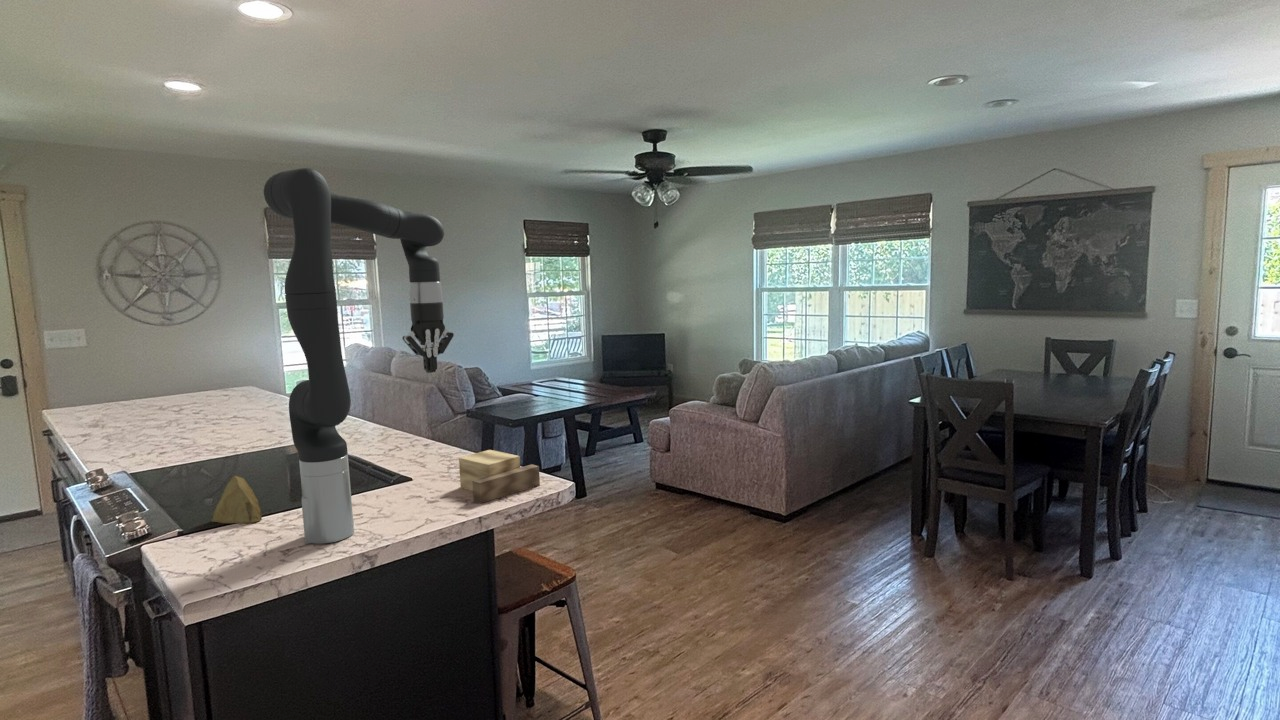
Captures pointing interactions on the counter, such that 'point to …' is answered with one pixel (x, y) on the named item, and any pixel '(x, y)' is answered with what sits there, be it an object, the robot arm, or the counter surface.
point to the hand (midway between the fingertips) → (431, 372)
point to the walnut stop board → (505, 483)
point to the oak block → (485, 466)
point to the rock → (237, 504)
